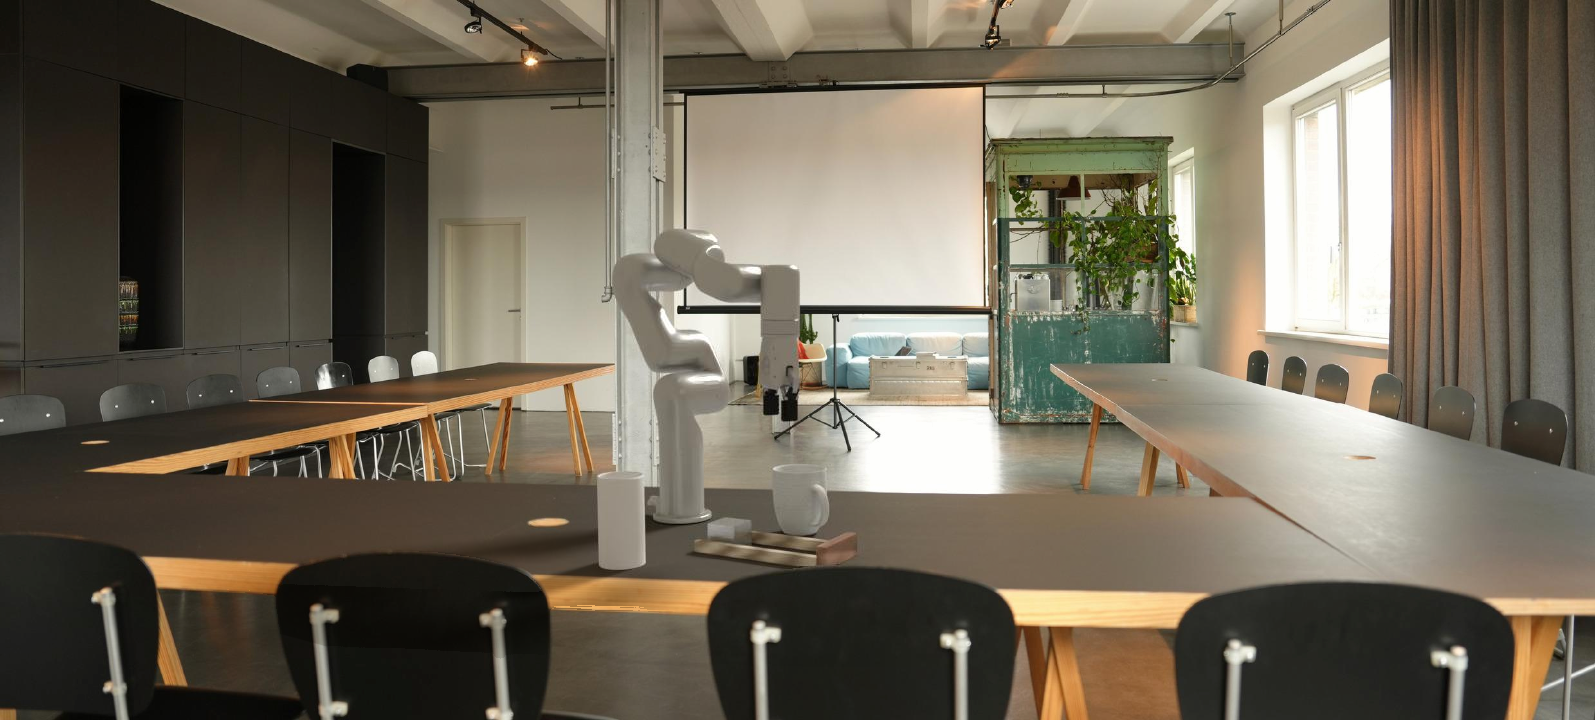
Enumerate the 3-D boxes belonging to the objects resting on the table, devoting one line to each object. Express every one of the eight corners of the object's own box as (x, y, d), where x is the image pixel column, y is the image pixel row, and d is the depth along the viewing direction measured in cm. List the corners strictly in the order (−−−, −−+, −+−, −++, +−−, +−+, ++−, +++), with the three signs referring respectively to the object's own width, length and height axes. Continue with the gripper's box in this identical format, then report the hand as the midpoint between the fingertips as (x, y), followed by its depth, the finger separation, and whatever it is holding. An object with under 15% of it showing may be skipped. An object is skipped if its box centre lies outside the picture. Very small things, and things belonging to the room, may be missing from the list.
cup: (601, 558, 175) (599, 471, 174) (647, 556, 176) (645, 470, 175) (596, 570, 167) (594, 479, 166) (643, 569, 167) (642, 478, 167)
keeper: (707, 549, 181) (707, 523, 181) (725, 542, 186) (725, 517, 186) (734, 553, 178) (733, 526, 178) (751, 545, 183) (751, 520, 183)
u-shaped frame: (694, 551, 179) (693, 530, 179) (729, 537, 189) (729, 517, 189) (826, 570, 165) (826, 547, 165) (857, 554, 176) (857, 533, 175)
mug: (849, 537, 189) (849, 471, 188) (803, 545, 183) (802, 477, 182) (807, 523, 201) (806, 461, 201) (762, 530, 195) (761, 467, 194)
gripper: (746, 328, 190) (746, 413, 191) (778, 331, 174) (778, 424, 175) (782, 327, 193) (781, 412, 194) (815, 330, 177) (815, 422, 178)
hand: (780, 418), depth 185 cm, fingers open, 9 cm apart
